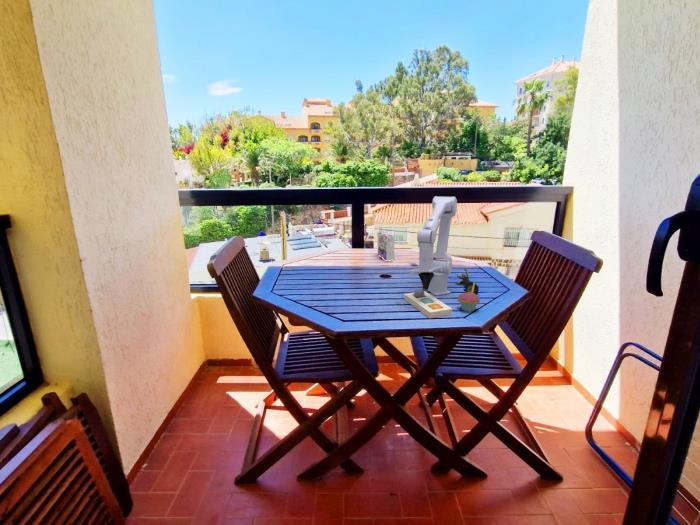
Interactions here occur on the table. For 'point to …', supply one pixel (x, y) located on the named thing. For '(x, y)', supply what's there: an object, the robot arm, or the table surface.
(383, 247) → the candy box
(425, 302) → the teal button
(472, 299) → the cupcake
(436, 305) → the orange button
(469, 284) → the artificial flower
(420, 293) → the grey button
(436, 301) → the button panel
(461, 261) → the table surface
